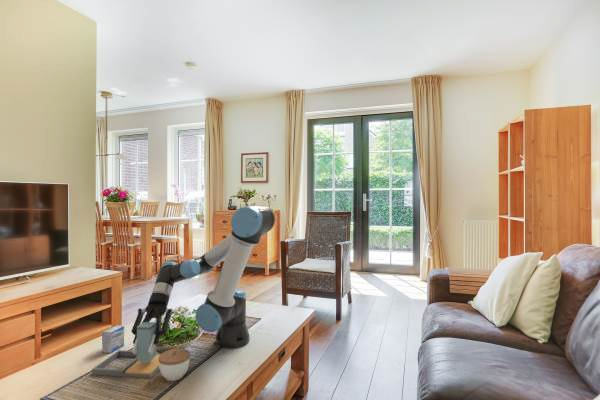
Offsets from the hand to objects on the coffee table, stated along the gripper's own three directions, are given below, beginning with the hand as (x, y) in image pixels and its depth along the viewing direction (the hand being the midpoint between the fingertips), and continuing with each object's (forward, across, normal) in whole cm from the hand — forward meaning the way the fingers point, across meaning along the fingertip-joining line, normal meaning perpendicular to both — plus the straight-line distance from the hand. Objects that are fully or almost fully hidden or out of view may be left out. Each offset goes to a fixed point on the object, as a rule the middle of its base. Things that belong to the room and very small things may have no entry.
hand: (142, 352), depth 126 cm
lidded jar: (+7, -13, -3) cm, 15 cm away
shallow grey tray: (+2, +10, -8) cm, 13 cm away
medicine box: (-8, +21, -18) cm, 29 cm away
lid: (+2, -1, -7) cm, 8 cm away
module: (0, 0, -5) cm, 5 cm away
